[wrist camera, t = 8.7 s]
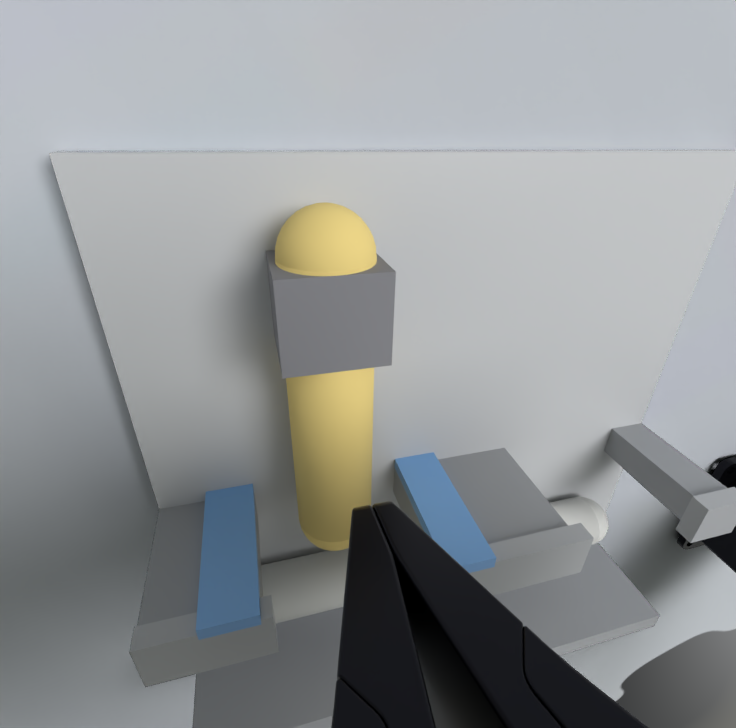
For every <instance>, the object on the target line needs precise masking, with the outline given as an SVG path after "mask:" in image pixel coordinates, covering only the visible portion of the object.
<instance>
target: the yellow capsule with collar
mask: <svg viewBox="0 0 736 728" xmlns="http://www.w3.org/2000/svg"><path fill="white" fill-rule="evenodd" d="M266 259H267V269H268V279H269V289H270V299H271V309H272V318H273V328H274V337H275V342H276V348H277V353H278V358H279V364H280V369H281V374H282V379H284V378H286V384H287V395H288V406H289V417H290V428H291V439H292V450H293V460H294V471H295V482H296V493H297V504H298V515H299V522H300V525H301V529H302V531H303V532H304V534H305V536H306V537H307V539H308V540H309V541H310V542H311V543H313V544H314V545H316V546H317V547H319V548H321V549H324V550H328V551H339V550H344V549H347V548H349V537H350V526H351V516H352V510H353V508H355V507H360V506H365V505H370V506H371V486H372V443H373V400H374V367H382V366H391V365H392V348H393V326H394V304H395V282H396V271H395V270H394V269H393V268H392V267H391V266H390V265H388V264H387V263H386V262H385V261H384V260H383V259H382V258H381V257H380V256H379V255H378V254H377V253H376V245H375V241H374V238H373V235H372V233H371V231H370V229H369V227H368V226H367V225H366V223H365V222H364V221H363V220H362V218H361V217H359V216H358V215H357V214H356V213H355V212H354V211H352V210H350V209H348V208H346V207H344V206H342V205H338V204H334V203H327V202H322V203H315V204H311V205H308V206H305V207H303V208H301V209H300V210H298V211H296V212H295V213H294V214H293V215H292V216H290V217H289V218H288V219H287V221H286V222H285V224H284V225H283V226H282V228H281V230H280V232H279V234H278V237H277V241H276V246H275V250H267V251H266Z"/></svg>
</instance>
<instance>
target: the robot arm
mask: <svg viewBox="0 0 736 728" xmlns="http://www.w3.org/2000/svg"><path fill="white" fill-rule="evenodd" d="M712 477H714V478H715V479H716V480H718V481H719V482H720V483H721V484H723V485H724V486H725V487H727V488H731V487H735V488H736V457H732V458H727V459H724V460H723V461H721V462H720V463H719V464H718V465H717V467H716V468H715V470H714V472H713V474H712ZM677 543H678V544H679V545H680V546H681V547H682V548H683V549H690V548H694V547H697V546H701V545H706V546H707V547H708V548H709V549H710V550H711V551H712V552H713V553H715V554H716V555H717V556H718V557H719V558H720V559H721V560H722V561H723V562H724V563H726V564H727V565H728V566H729V567H730V568H731V569H732V570H733V571H734V572H735V573H736V525H735V527H734V529H733V530H732V532H731V533H727V534H723V535H720V536H716V537H712V538H708V539H704V540H701V541H697V542H693V543H690V542H689V541H688V540H686V539H685V538H684V537H683V536H682V535H681V534H680V536H679V538H678V540H677ZM331 728H648V727H647V726H646V725H645V724H643V723H642V722H641V721H640V720H638V719H637V718H636V717H635V716H633V715H632V714H631V713H629V712H628V711H627V710H625V709H624V708H623V707H622V706H620V705H619V704H618V703H616V702H615V701H614V700H613V699H611V698H610V697H609V696H608V695H606V694H605V693H604V692H602V691H601V690H600V689H599V688H597V687H596V686H595V685H594V684H592V683H591V682H590V681H589V680H588V679H586V678H585V677H584V676H583V675H581V674H580V673H579V672H578V671H576V670H575V669H574V668H573V667H572V666H570V665H569V664H568V663H567V662H566V661H565V660H564V659H562V658H561V657H560V656H559V655H558V654H557V653H556V652H555V651H553V650H552V649H551V648H550V647H549V646H548V645H547V644H545V643H544V642H543V641H542V640H541V639H540V638H539V637H538V636H537V635H536V634H535V633H534V632H532V631H531V630H530V629H529V628H528V627H527V626H523V623H522V621H520V620H519V619H518V618H517V617H516V616H515V615H514V614H513V613H512V612H511V611H510V610H509V609H507V608H506V607H505V606H504V605H503V604H502V603H501V602H500V601H499V600H498V599H497V598H496V597H495V596H493V595H492V594H491V593H490V592H489V591H488V590H487V589H486V588H485V587H484V586H483V585H482V584H481V583H479V582H478V581H477V580H476V579H475V578H474V577H473V576H472V575H471V574H470V573H469V572H468V571H467V570H465V569H464V568H463V567H462V566H461V565H460V564H459V563H458V562H457V561H456V560H455V559H454V558H452V557H451V556H450V555H449V554H448V553H447V552H446V551H445V550H444V549H443V548H442V547H441V546H440V545H438V544H437V543H436V542H435V541H434V540H433V539H432V538H431V537H430V536H429V535H428V534H427V533H426V532H424V531H423V530H422V529H421V528H420V527H419V526H418V525H417V524H416V523H415V522H414V521H413V520H411V519H410V518H409V517H408V516H407V515H406V514H405V513H404V512H403V511H402V510H401V509H400V508H399V507H397V506H396V505H395V504H394V503H393V502H391V501H386V502H381V503H376V504H374V505H373V506H370V505H365V506H360V507H355V508H353V510H352V516H351V526H350V537H349V548H348V559H347V570H346V581H345V592H344V603H343V614H342V625H341V636H340V646H339V657H338V668H337V681H336V688H335V698H334V709H333V717H332V725H331Z"/></svg>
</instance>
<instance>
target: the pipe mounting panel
mask: <svg viewBox="0 0 736 728" xmlns="http://www.w3.org/2000/svg"><path fill="white" fill-rule="evenodd" d="M49 155H50V158H51V162H52V165H53V168H54V171H55V175H56V178H57V181H58V184H59V187H60V191H61V194H62V197H63V200H64V204H65V207H66V210H67V213H68V217H69V220H70V223H71V226H72V230H73V233H74V236H75V239H76V242H77V246H78V249H79V252H80V255H81V259H82V262H83V265H84V268H85V272H86V275H87V278H88V281H89V285H90V288H91V291H92V294H93V297H94V301H95V304H96V307H97V310H98V314H99V317H100V320H101V323H102V327H103V330H104V333H105V336H106V340H107V343H108V346H109V349H110V352H111V356H112V359H113V362H114V365H115V369H116V372H117V375H118V378H119V382H120V385H121V388H122V391H123V395H124V398H125V401H126V404H127V407H128V411H129V414H130V417H131V420H132V424H133V427H134V430H135V433H136V437H137V440H138V443H139V446H140V450H141V453H142V456H143V459H144V462H145V466H146V469H147V472H148V475H149V479H150V482H151V485H152V488H153V492H154V495H155V498H156V501H157V505H158V508H159V512H158V517H157V522H156V528H155V533H154V538H153V544H152V549H151V554H150V560H149V565H148V570H147V576H146V581H145V586H144V592H143V597H142V602H141V608H140V613H139V618H138V624H137V626H136V627H134V630H133V635H132V640H131V645H130V650H129V653H130V655H131V657H132V659H133V662H134V664H135V666H136V668H137V670H138V672H139V675H140V677H141V679H142V681H143V683H144V686H145V687H148V686H152V685H156V684H159V683H163V682H167V681H171V680H175V679H178V678H182V677H186V676H190V675H193V674H196V684H195V699H194V714H193V728H329V727H331V725H332V717H333V709H334V698H335V688H336V681H337V668H338V657H339V646H340V636H341V625H342V614H343V603H344V592H345V581H346V570H347V559H348V548H347V549H344V550H339V551H328V550H324V549H321V548H319V547H317V546H316V545H314V544H313V543H311V542H310V541H309V540H308V539H307V537H306V536H305V534H304V532H303V531H302V529H301V525H300V522H299V515H298V504H297V493H296V482H295V471H294V460H293V450H292V439H291V428H290V417H289V406H288V395H287V384H286V378H284V379H282V374H281V369H280V364H279V358H278V353H277V348H276V342H275V337H274V328H273V318H272V309H271V299H270V289H269V279H268V269H267V259H266V251H267V250H275V246H276V241H277V237H278V234H279V232H280V230H281V228H282V226H283V225H284V224H285V222H286V221H287V219H288V218H289V217H290V216H292V215H293V214H294V213H295V212H296V211H298V210H300V209H301V208H303V207H305V206H308V205H311V204H315V203H322V202H327V203H334V204H338V205H342V206H344V207H346V208H348V209H350V210H352V211H354V212H355V213H356V214H357V215H358V216H359V217H361V218H362V220H363V221H364V222H365V223H366V225H367V226H368V227H369V229H370V231H371V233H372V235H373V238H374V241H375V245H376V253H377V254H378V255H379V256H380V257H381V258H382V259H383V260H384V261H385V262H386V263H387V264H388V265H390V266H391V267H392V268H393V269H394V270H395V271H396V282H395V304H394V326H393V348H392V365H391V366H382V367H374V400H373V443H372V486H371V506H373V505H374V504H376V503H381V502H386V501H391V502H393V503H394V504H395V505H396V506H397V507H399V508H400V509H401V510H402V511H403V512H404V513H405V514H406V515H407V516H408V517H409V518H410V519H411V520H413V521H414V522H415V523H416V524H417V525H418V526H419V527H420V528H421V529H422V530H423V531H424V532H426V533H427V534H428V535H429V536H430V537H431V538H432V539H433V540H434V541H435V542H436V543H437V544H438V545H440V546H441V547H442V548H443V549H444V550H445V551H446V552H447V553H448V554H449V555H450V556H451V557H452V558H454V559H455V560H456V561H457V562H458V563H459V564H460V565H461V566H462V567H463V568H464V569H465V570H467V571H468V572H469V573H470V574H471V575H472V576H473V577H474V578H475V579H476V580H477V581H478V582H479V583H481V584H482V585H483V586H484V587H485V588H486V589H487V590H488V591H489V592H490V593H491V594H492V595H493V596H495V597H496V598H497V599H498V600H499V601H500V602H501V603H502V604H503V605H504V606H505V607H506V608H507V609H509V610H510V611H511V612H512V613H513V614H514V615H515V616H516V617H517V618H518V619H519V620H520V621H522V623H523V626H527V627H528V628H529V629H530V630H531V631H532V632H534V633H535V634H536V635H537V636H538V637H539V638H540V639H541V640H542V641H543V642H544V643H545V644H547V645H548V646H549V647H550V648H551V649H552V650H553V651H555V652H556V653H557V654H558V655H559V656H560V655H563V654H566V653H570V652H573V651H576V650H579V649H582V648H586V647H589V646H592V645H595V644H598V643H602V642H605V641H608V640H611V639H614V638H618V637H621V636H624V635H627V634H631V633H634V632H637V631H640V630H643V629H647V628H650V627H653V626H654V625H655V623H656V622H657V620H658V618H659V617H660V615H659V613H658V612H657V611H656V610H655V609H654V608H653V606H652V605H651V604H650V603H649V602H648V601H647V599H646V598H645V597H644V596H643V595H642V594H641V592H640V591H639V590H638V589H637V588H636V587H635V585H634V584H633V583H632V582H631V581H630V580H629V578H628V577H627V576H626V575H625V574H624V573H623V571H622V570H621V569H620V568H619V567H618V565H617V564H616V563H615V562H614V561H613V560H612V558H611V557H610V556H609V555H608V554H607V553H606V551H605V550H604V549H603V548H602V547H601V546H600V544H599V543H598V542H600V541H601V540H602V539H603V538H604V537H605V535H606V534H607V531H608V525H609V524H608V518H607V515H606V511H607V509H608V506H609V504H610V501H611V499H612V496H613V494H614V491H615V489H616V486H617V484H618V481H619V479H620V476H621V474H622V471H623V469H624V470H626V471H627V472H628V473H629V474H630V475H631V476H632V477H633V478H634V479H636V480H637V481H638V482H639V483H640V484H641V485H642V486H643V487H644V488H645V489H647V490H648V491H649V492H650V493H651V494H652V495H653V496H654V497H655V498H657V499H658V500H659V501H660V502H661V503H662V504H663V505H664V506H665V507H667V508H668V509H669V510H670V511H671V512H672V513H673V514H674V515H675V516H676V517H678V518H679V519H680V522H679V524H678V526H677V528H676V530H677V531H678V532H679V533H680V534H681V535H682V536H683V537H684V538H685V539H686V540H688V541H689V542H690V543H693V542H697V541H701V540H704V539H708V538H712V537H716V536H720V535H723V534H727V533H731V532H732V530H733V529H734V527H735V525H736V488H735V487H731V488H727V487H725V486H724V485H723V484H721V483H720V482H719V481H718V480H716V479H715V478H714V477H712V476H711V475H710V474H708V473H707V472H706V471H704V470H703V469H702V468H700V467H699V466H698V465H696V464H695V463H694V462H692V461H691V460H690V459H688V458H687V457H686V456H684V455H683V454H682V453H680V452H679V451H678V450H676V449H675V448H674V447H672V446H671V445H670V444H668V443H667V442H666V441H664V440H663V439H662V438H660V437H659V436H658V435H656V434H655V433H654V432H652V431H651V430H650V429H648V428H647V427H646V426H644V425H643V424H642V420H643V418H644V415H645V413H646V410H647V408H648V405H649V403H650V400H651V398H652V395H653V393H654V390H655V388H656V385H657V383H658V380H659V378H660V375H661V372H662V370H663V367H664V365H665V362H666V360H667V357H668V355H669V352H670V350H671V347H672V345H673V342H674V340H675V337H676V335H677V332H678V330H679V327H680V324H681V322H682V319H683V317H684V314H685V312H686V309H687V307H688V304H689V302H690V299H691V297H692V294H693V292H694V289H695V287H696V284H697V282H698V279H699V276H700V274H701V271H702V269H703V266H704V264H705V261H706V259H707V256H708V254H709V251H710V249H711V246H712V244H713V241H714V239H715V236H716V234H717V231H718V228H719V226H720V223H721V221H722V218H723V216H724V213H725V211H726V208H727V206H728V203H729V201H730V198H731V196H732V193H733V191H734V188H735V185H736V150H386V151H57V152H52V153H49Z"/></svg>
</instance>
